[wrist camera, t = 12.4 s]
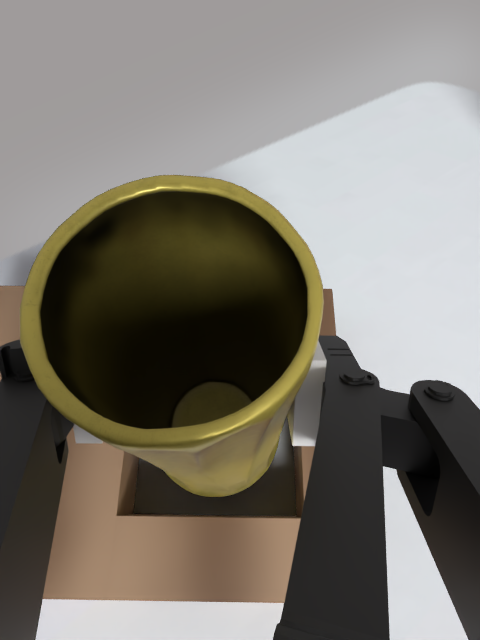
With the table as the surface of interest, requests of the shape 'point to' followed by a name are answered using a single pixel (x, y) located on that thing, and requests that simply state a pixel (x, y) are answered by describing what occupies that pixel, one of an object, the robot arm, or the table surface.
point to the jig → (159, 526)
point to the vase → (176, 326)
